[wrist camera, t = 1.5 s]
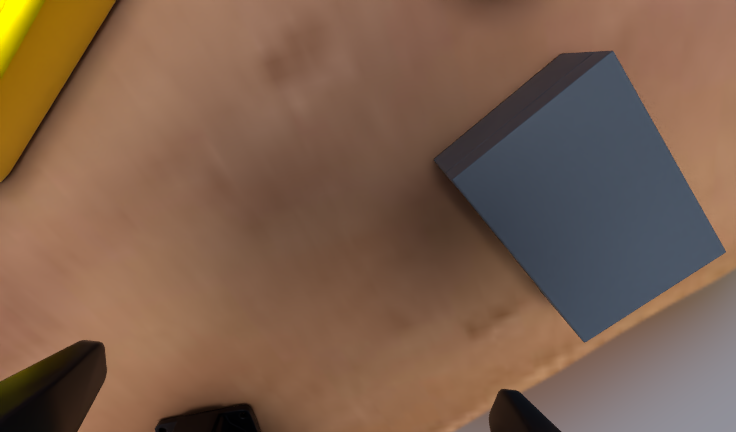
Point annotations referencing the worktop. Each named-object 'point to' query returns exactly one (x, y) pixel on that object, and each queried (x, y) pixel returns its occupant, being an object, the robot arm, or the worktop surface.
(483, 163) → the shelf
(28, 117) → the element tile
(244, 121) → the worktop surface
